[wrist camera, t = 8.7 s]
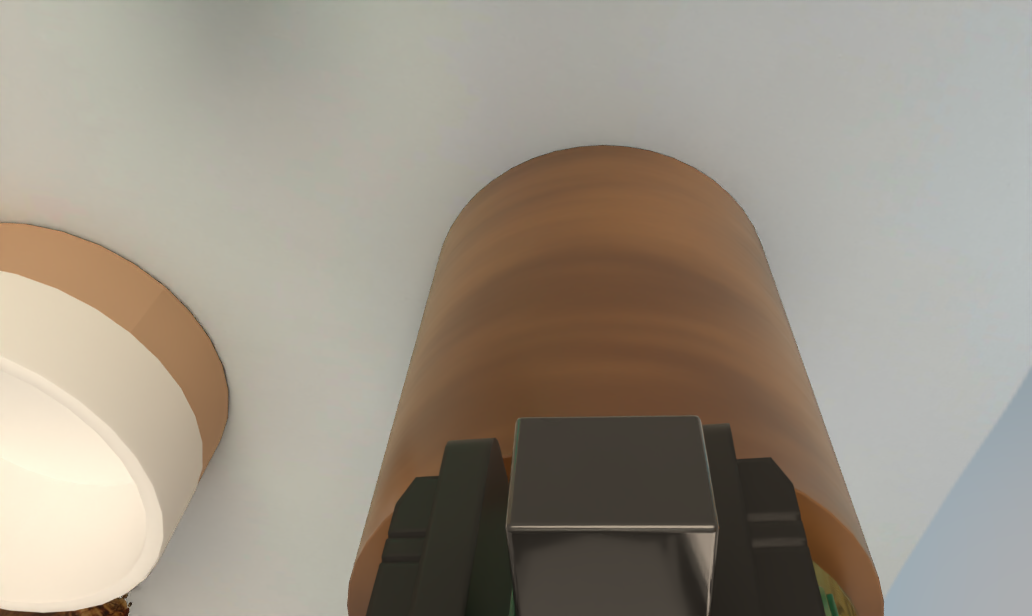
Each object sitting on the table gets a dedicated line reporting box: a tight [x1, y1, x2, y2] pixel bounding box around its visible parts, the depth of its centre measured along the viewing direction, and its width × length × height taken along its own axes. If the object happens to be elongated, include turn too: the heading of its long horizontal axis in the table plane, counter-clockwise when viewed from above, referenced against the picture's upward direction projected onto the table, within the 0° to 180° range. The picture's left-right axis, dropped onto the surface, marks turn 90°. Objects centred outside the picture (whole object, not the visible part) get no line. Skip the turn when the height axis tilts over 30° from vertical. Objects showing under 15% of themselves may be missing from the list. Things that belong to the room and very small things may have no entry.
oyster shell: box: [0, 593, 132, 616], centre depth 52 cm, size 6×4×10 cm
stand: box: [347, 145, 884, 616], centre depth 31 cm, size 15×15×18 cm
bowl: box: [0, 223, 228, 613], centre depth 39 cm, size 17×17×8 cm
